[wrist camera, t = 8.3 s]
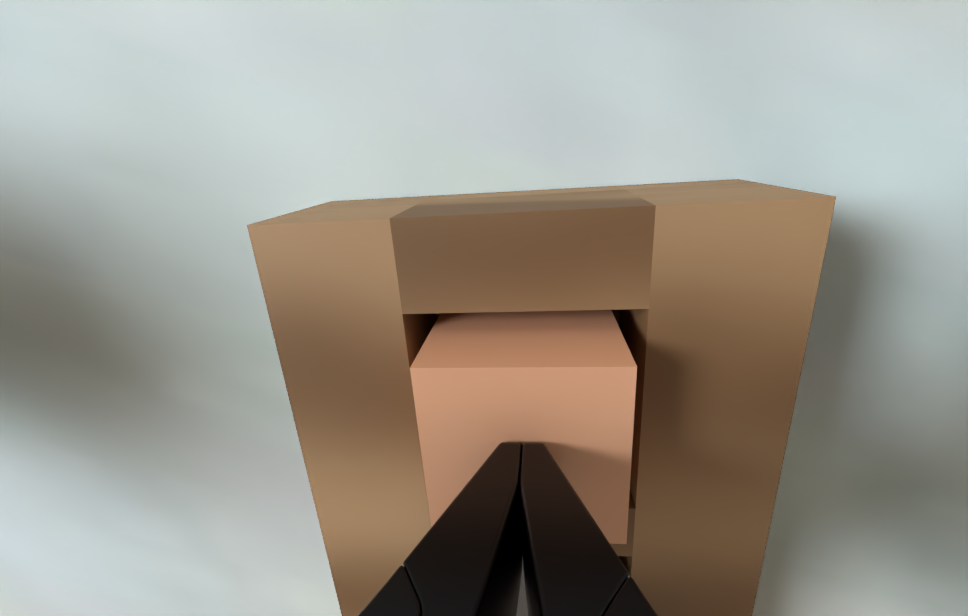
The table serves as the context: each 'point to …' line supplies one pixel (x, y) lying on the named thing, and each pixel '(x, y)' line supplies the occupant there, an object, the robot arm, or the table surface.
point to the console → (557, 287)
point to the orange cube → (529, 402)
